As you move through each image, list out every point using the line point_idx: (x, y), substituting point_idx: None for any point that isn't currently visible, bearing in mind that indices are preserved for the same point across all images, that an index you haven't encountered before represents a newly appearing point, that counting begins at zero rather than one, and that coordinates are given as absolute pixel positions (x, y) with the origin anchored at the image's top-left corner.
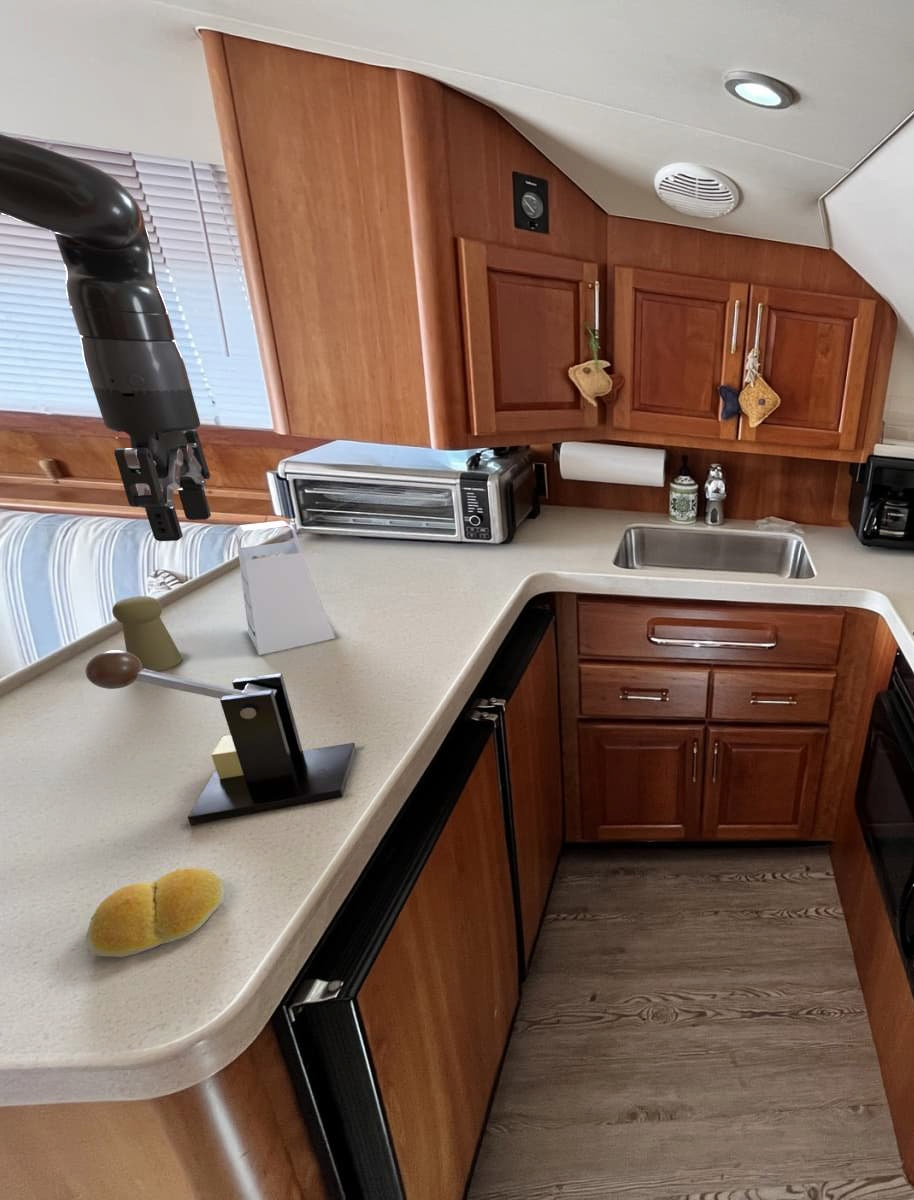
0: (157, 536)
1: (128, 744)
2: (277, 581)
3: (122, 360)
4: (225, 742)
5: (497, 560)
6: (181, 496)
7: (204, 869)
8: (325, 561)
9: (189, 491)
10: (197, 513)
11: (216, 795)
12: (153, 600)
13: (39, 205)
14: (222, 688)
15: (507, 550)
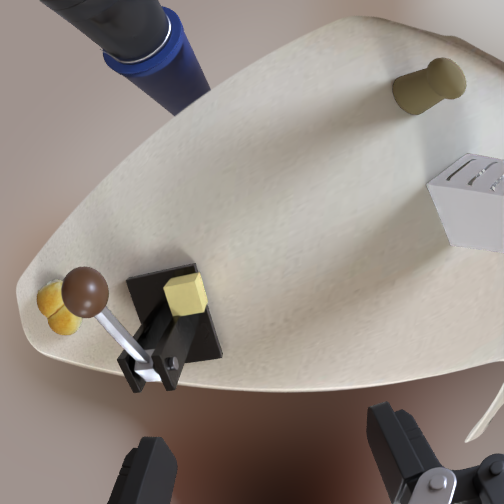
0: (132, 451)
1: (251, 151)
2: (495, 220)
3: None
4: (183, 289)
5: None
6: (395, 462)
7: (73, 326)
8: None
9: (395, 489)
10: (372, 436)
11: (149, 287)
12: (458, 92)
13: None
14: (135, 354)
15: None
